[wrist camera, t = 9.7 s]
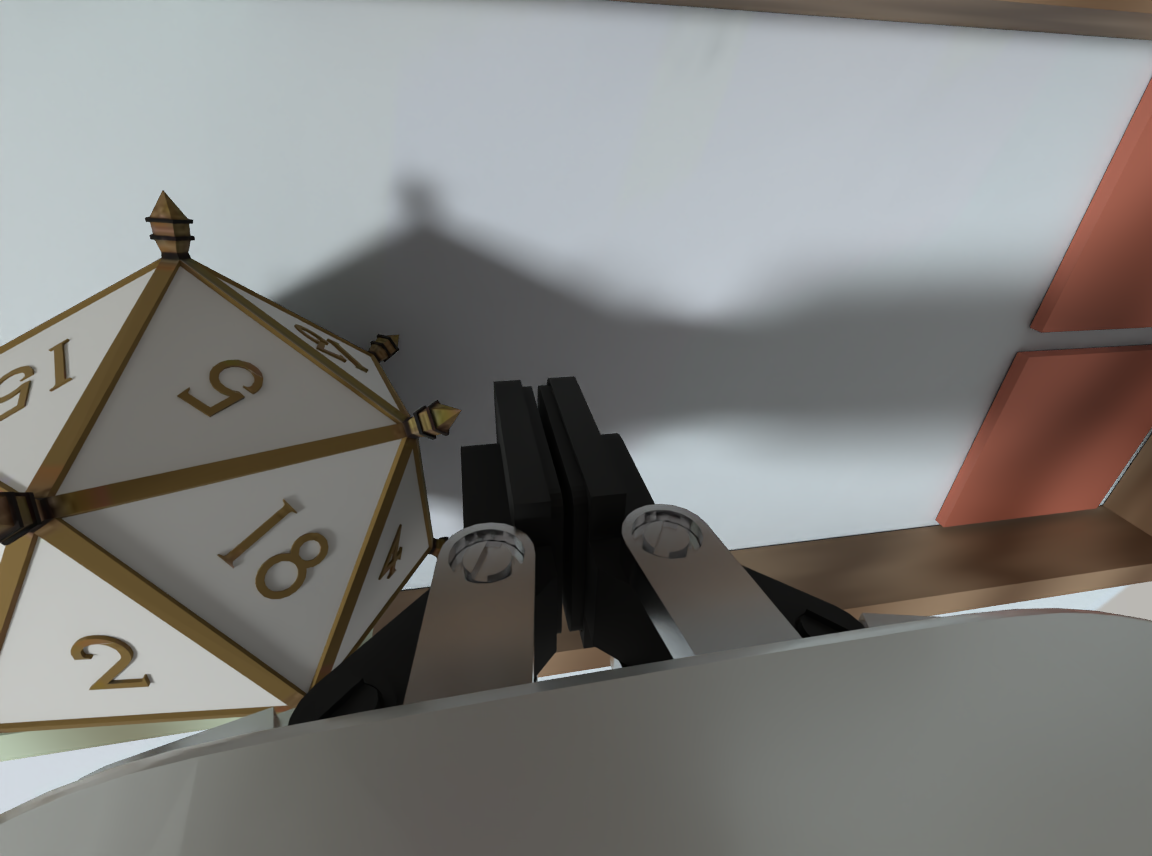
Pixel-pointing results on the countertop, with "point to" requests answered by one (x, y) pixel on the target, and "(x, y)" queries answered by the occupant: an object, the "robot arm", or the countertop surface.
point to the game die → (196, 500)
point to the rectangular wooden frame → (1008, 434)
